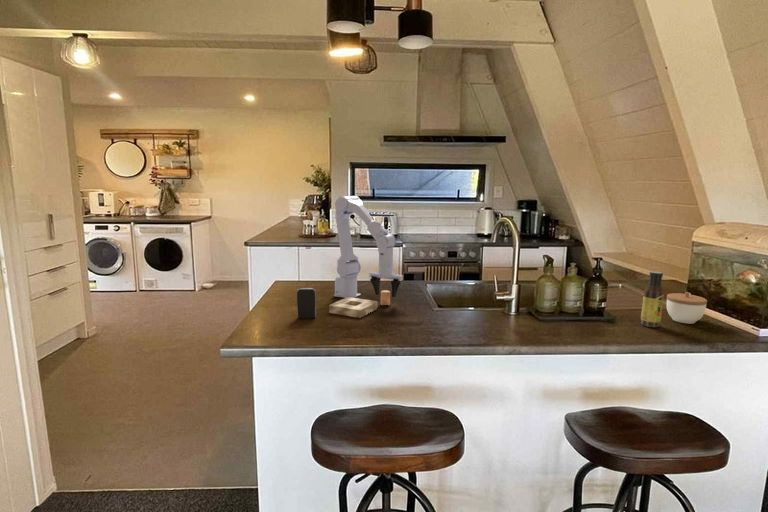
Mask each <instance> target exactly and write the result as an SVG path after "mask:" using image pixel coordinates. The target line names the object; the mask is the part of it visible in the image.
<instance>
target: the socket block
mask: <svg viewBox="0 0 768 512" xmlns="http://www.w3.org/2000/svg"><path fill="white" fill-rule="evenodd" d="M377 308H378V309H379V305H378V301H377V300H373V299H372V300H371V299H365V298H359V297H355V298H352V297H346V298H342V299H339V300H337V301H335V302H333V303H330V304H329V305H328V313H329V314H336V315H342V316H348V317H353V318H357V317H358V318H359V319H361V317H362V318H363V317H365V316H366V315H369V314H371V313H372V312H374V311H376V310H378V309H377ZM370 312H371V313H370ZM368 313H369V314H368ZM358 318H357V319H358Z"/></svg>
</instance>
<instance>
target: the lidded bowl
mask: <svg viewBox="0 0 768 512" xmlns="http://www.w3.org/2000/svg"><path fill="white" fill-rule="evenodd" d="M707 304H708V300H707V298H704V297H702V296H700V295H699V296H698V295H694V294H690V292H688V291H685V293H681V292H680V293H679V292H678V293H676V292H673V293H667V294H666V310H667V313H668V315H669V316H670V318H671V319H672V320H673V321H675V322H677V323H681V324H690V325H691V324H695V323H696V322H697V321H699V320H701V319H702V317H703V316H704V314H705V312H706V308H707Z"/></svg>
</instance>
